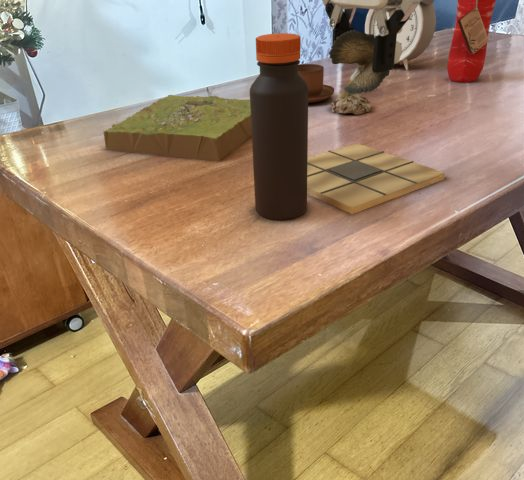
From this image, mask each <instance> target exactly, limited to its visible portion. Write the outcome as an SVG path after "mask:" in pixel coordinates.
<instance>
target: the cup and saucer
mask: <svg viewBox="0 0 524 480" xmlns="http://www.w3.org/2000/svg"><path fill="white" fill-rule="evenodd" d="M324 69H325V68H324V65H321V64H317V63H300V64H298V65H297V72H298V73H299V75H300V76H301V77H302V78H303V79H304V81H305V82H306V83H307V84H308V104H313V103H318V102H322V101H325V100H328V99H329V98H331V97H332V96H333V95H334V93H335V87H333V86H332V85H328V84H324V74H325V73H324Z"/></svg>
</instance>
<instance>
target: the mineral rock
mask: <svg viewBox="0 0 524 480" xmlns="http://www.w3.org/2000/svg"><path fill="white" fill-rule="evenodd" d="M330 105H331V112H332V113H335V114H338V113H339V114H344V115H345V114H353V115H355V116H356V115H362V114H365V113H369V112H370V111H371V109H372V108H373V105H372V104H371V101H370V100H368V98H366V97H365V96H363V95H362V93H361V94H354V95H351V94H347V92H344V91H342V94H341V95H340V96H339V98H338V99H336V100H334V101H333V102H331V103H330Z"/></svg>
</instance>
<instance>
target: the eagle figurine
mask: <svg viewBox="0 0 524 480" xmlns="http://www.w3.org/2000/svg"><path fill="white" fill-rule="evenodd" d="M374 39H375V37H374V35H373V34H370V35H369V34H366V33H365V32H361V31H357V30H356V29H354V30H350V32H349V31H347V33H346V32H345V33H344V34H342V35H341V36H339V37H337V39H336V40H335V41H334V44H333V45H332V44H331V46H330V50H329V51H328V55H329V59H330V60H331V63H332V62H333V63H340V64H341V65H342V64H345V65H353V64H357V68H356V69H355V70H354V71H353V73H352V74H351V75H350V78H349V79H350V80H349V83H348V84H347V85H345V86H343V88H342V91H343V92H347V94H351V95H354V94H361V95H362V94H367V93H371V92H373V91H375V90H377V89H378V87H381V84H382V83H383V82H384V81H383V80H385V79H386V77H388V76H389V75H390V71H391V70H388V71H383V72H379V73H375V72H373V70H372V64H373V52H374ZM401 54H402V46H401V44H400V43H399V42H398V41H396V48H395V58H394V65H395V64H398V63H399V62H398V61H399V59H400V56H401ZM397 62H398V63H397ZM333 63H332V64H333ZM340 64H339V65H340Z"/></svg>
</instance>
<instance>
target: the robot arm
mask: <svg viewBox="0 0 524 480" xmlns="http://www.w3.org/2000/svg"><path fill="white" fill-rule="evenodd" d="M321 1H322V3H323V6H324V9H325V13H326V15H327V17H328V19H329V23H328V24H329V28H330V29H331V30H332V41H331V46H332V45H333V44H334V41H335V40H336V39H337V37H339V36H341V35H342V34H344V33H345V32H346V33H347V31H349V32H350V30H355V27H354V26H351V25H352V21H353V18H354V16H355V14H356V10H357V9H366V10H370V9H374V11H375V16H376V20H377V25H378V30H379V34H380V35H377V36H375V39H374V52H373V64H372V70H373V72H375V73H379V72H383V71H388V70H389V71H392V70H393V69H394V67H395V64H394V58H395V48H396V39H397V34H398V33H400V32H401V31H402V27H403V26H404V25H405V23H406V22H407V21H408V20H409V18H410V15H411V14H412V13H413V11H414V10H415V9H416V7H417V6H418V5H419V3H420V1H421V0H321ZM398 6H400V7H398ZM386 12H388V13H389V19H387V15H386ZM331 63H332V64H333V65H340V63H333V62H332V61H331Z"/></svg>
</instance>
